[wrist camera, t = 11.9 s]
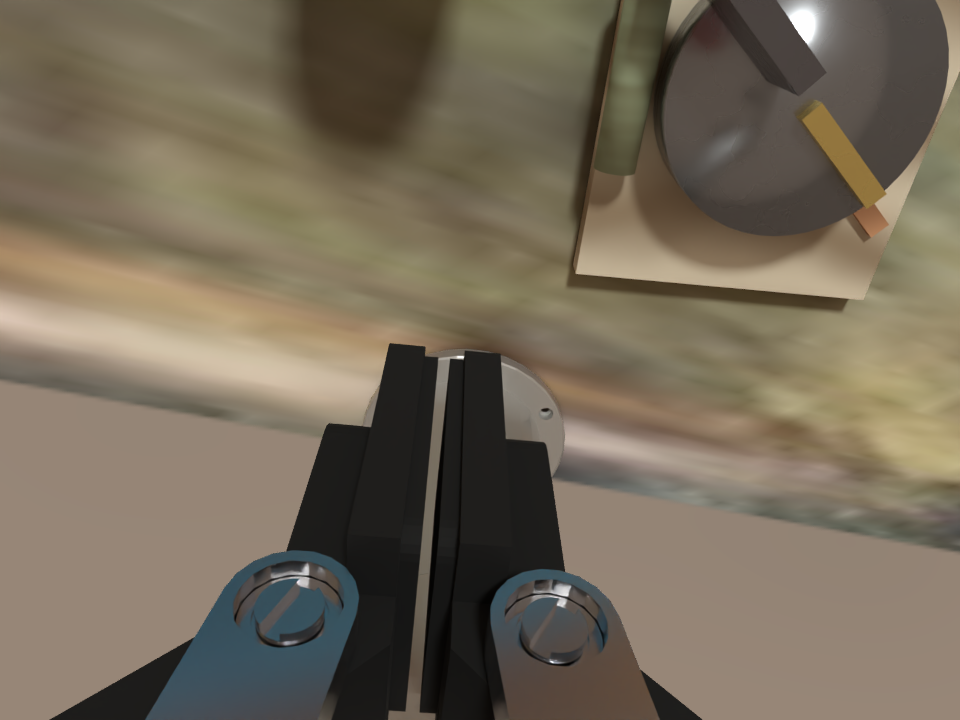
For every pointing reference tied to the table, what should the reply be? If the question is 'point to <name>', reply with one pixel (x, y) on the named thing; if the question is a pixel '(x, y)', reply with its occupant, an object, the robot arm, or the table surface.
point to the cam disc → (797, 106)
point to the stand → (678, 221)
